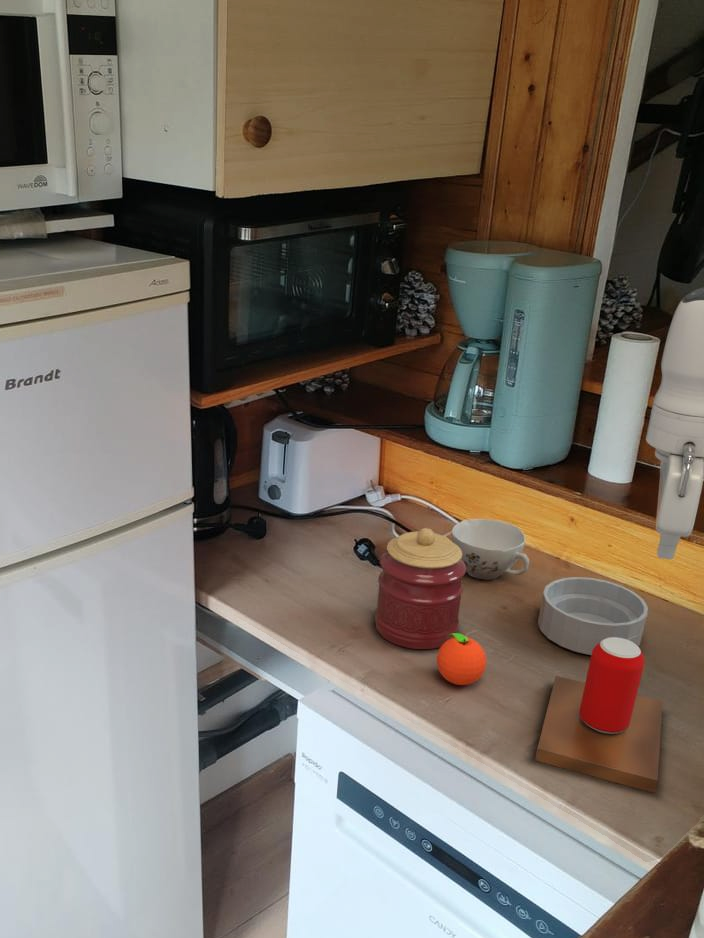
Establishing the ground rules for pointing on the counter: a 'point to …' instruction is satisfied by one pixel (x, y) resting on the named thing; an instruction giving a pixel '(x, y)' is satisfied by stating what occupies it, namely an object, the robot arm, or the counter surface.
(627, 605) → the grey round bowl
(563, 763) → the cutting board
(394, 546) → the kitchen canister
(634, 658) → the beverage can
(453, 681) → the clementine
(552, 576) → the counter surface
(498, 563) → the teacup
